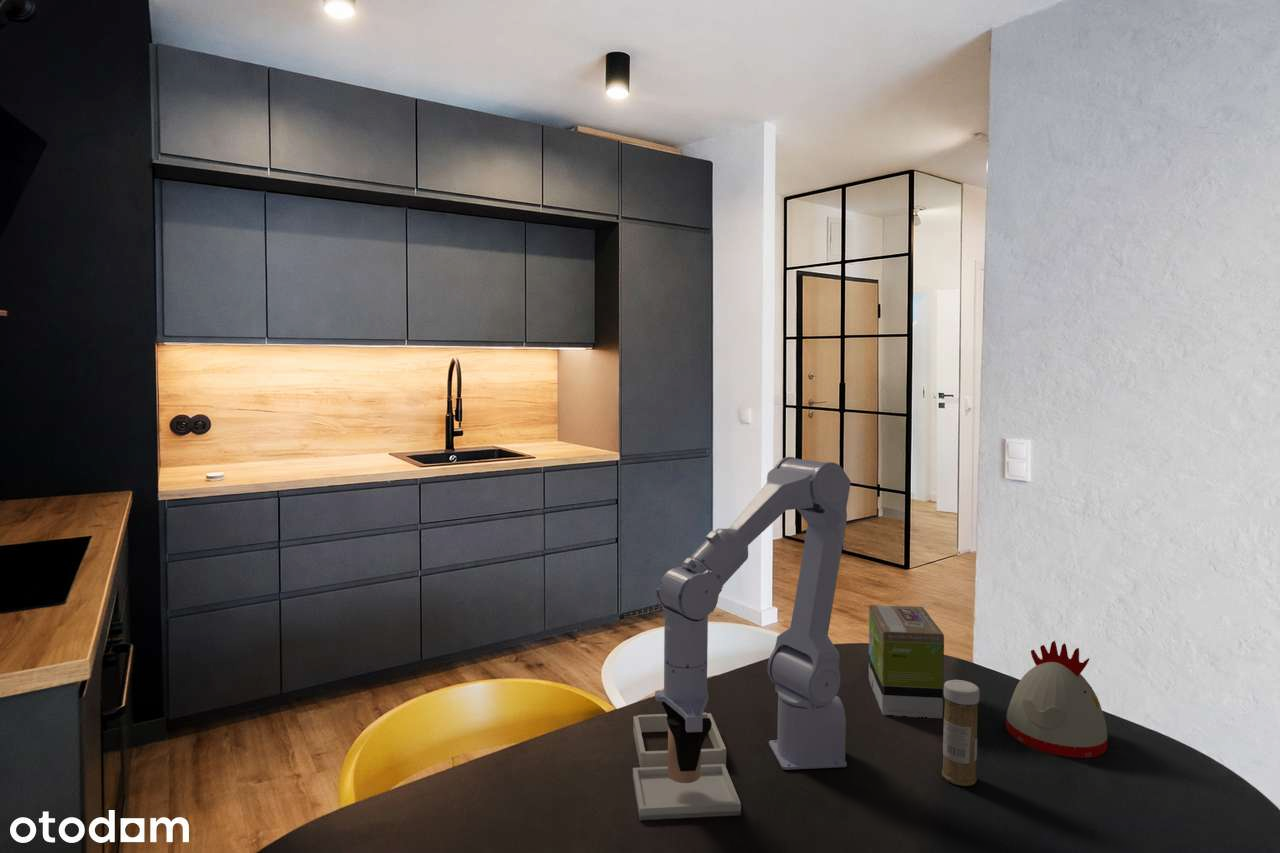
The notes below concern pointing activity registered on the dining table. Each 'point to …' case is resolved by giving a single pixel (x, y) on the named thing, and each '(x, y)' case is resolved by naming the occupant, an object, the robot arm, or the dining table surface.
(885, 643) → the tea box
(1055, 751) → the kitchen timer
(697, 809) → the tray
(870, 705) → the dining table surface
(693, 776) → the terracotta cylinder
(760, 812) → the dining table surface
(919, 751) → the dining table surface
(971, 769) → the sprinkles bottle
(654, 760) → the grey square frame
